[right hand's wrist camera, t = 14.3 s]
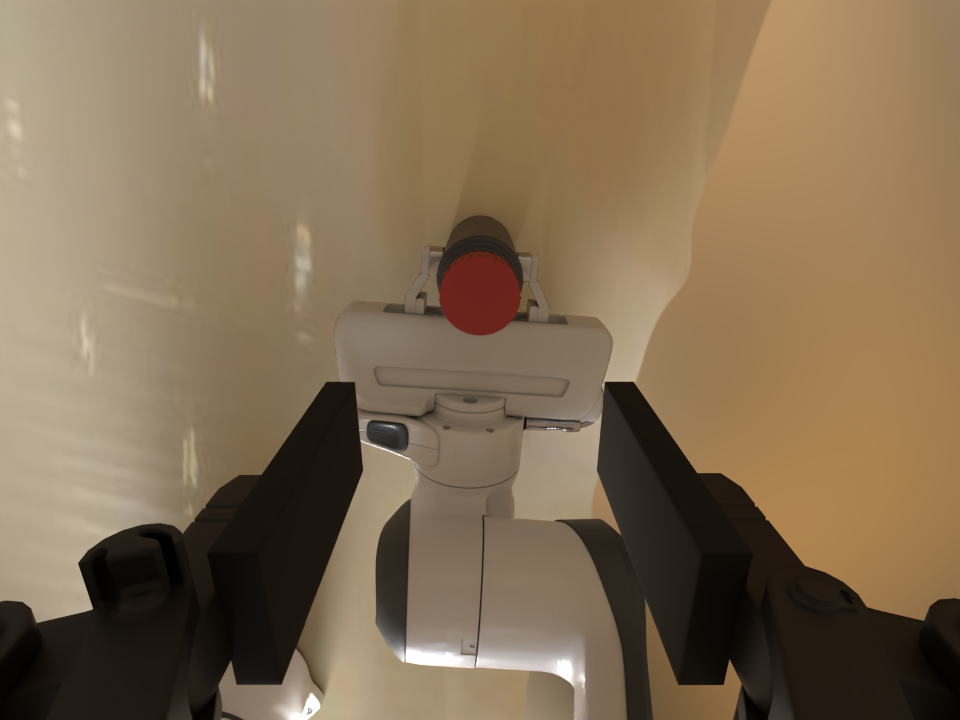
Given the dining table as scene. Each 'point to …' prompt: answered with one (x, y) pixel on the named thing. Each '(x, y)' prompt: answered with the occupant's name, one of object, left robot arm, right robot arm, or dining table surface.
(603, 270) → the dining table surface
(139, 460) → the dining table surface
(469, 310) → the cap
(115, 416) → the dining table surface
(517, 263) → the bottle
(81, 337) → the dining table surface
